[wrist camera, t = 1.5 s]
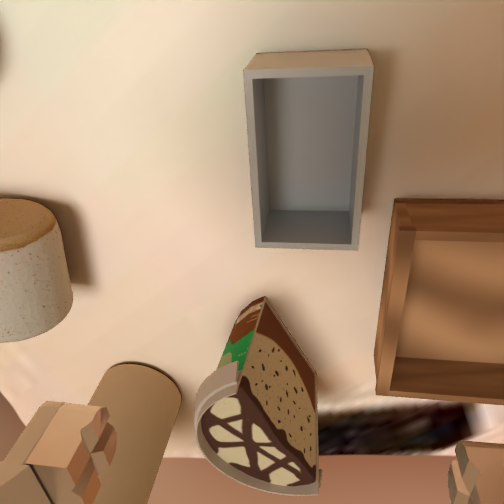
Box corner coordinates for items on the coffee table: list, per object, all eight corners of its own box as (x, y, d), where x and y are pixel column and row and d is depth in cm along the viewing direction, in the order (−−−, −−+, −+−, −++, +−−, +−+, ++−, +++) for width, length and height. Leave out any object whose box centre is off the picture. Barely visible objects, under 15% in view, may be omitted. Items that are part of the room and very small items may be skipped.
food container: (191, 305, 36) (149, 409, 28) (255, 281, 33) (231, 387, 25) (263, 398, 41) (246, 509, 33) (324, 383, 39) (322, 498, 30)
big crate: (391, 198, 28) (399, 230, 25) (590, 201, 26) (628, 235, 23) (371, 354, 36) (375, 395, 32) (524, 364, 34) (544, 408, 31)
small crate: (256, 53, 24) (243, 70, 21) (367, 48, 23) (373, 65, 20) (264, 211, 30) (255, 247, 26) (354, 213, 29) (358, 250, 25)
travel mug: (87, 373, 43) (-41, 591, 28) (149, 352, 40) (41, 585, 25) (137, 421, 46) (45, 639, 31) (197, 405, 43) (128, 639, 28)
